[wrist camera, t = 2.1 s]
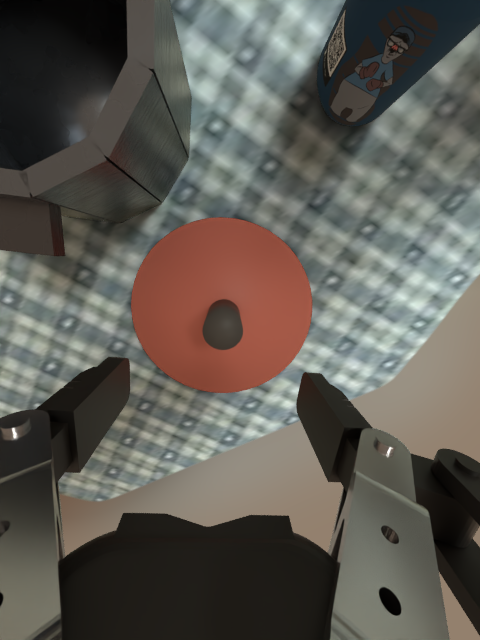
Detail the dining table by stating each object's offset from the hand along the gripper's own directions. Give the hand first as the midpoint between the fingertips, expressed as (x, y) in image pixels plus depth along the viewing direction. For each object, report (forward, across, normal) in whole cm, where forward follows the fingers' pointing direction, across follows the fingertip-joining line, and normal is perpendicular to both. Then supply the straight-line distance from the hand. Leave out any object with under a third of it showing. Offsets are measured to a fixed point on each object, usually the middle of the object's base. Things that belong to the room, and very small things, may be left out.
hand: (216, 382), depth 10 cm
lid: (+15, 0, 0) cm, 15 cm away
